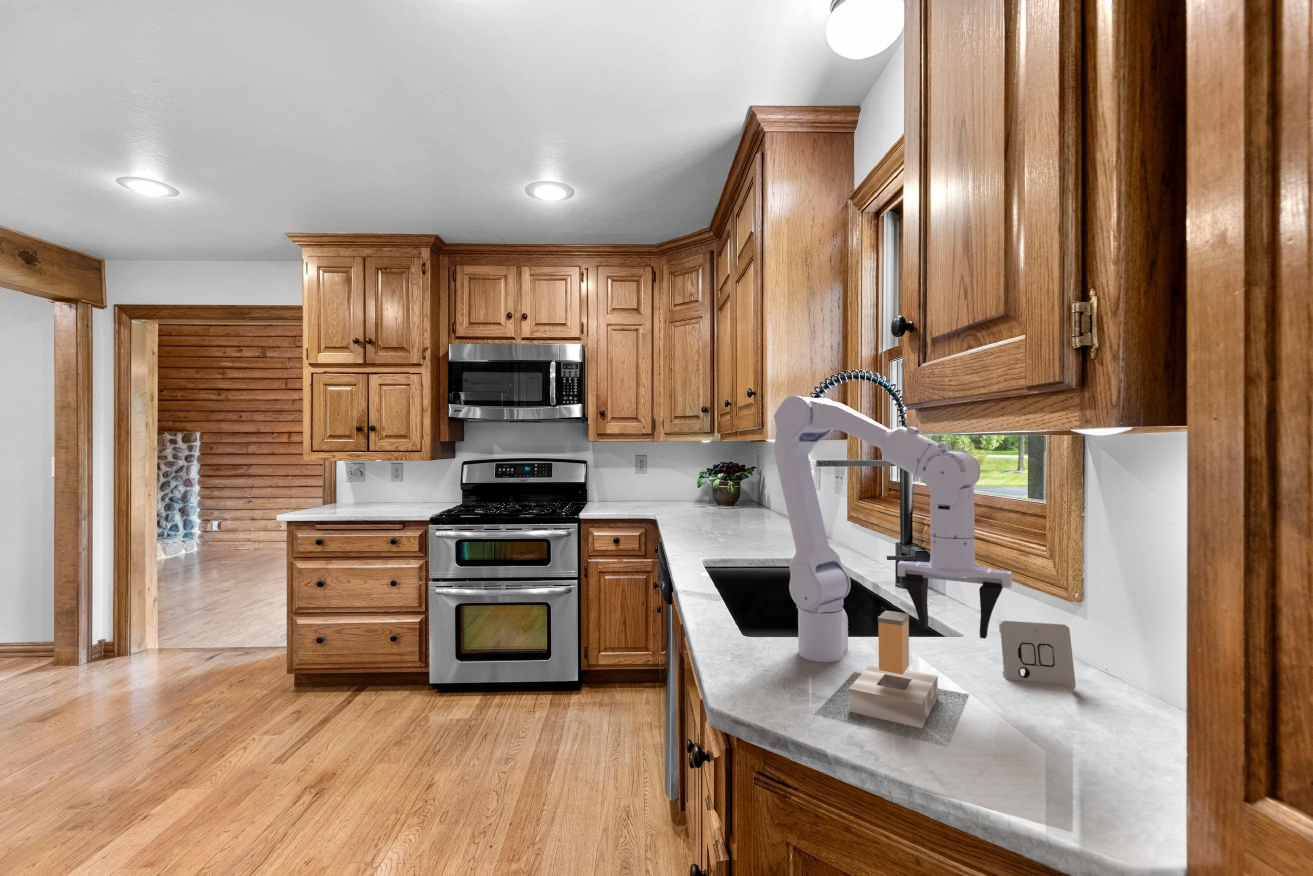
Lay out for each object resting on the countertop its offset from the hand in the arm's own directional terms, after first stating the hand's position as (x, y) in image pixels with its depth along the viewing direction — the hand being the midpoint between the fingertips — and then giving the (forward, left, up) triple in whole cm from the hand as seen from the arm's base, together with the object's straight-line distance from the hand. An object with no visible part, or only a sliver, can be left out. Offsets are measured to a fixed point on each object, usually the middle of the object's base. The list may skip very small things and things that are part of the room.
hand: (953, 632), depth 89 cm
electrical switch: (-13, +9, -10) cm, 19 cm away
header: (+9, -6, -9) cm, 14 cm away
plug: (+9, -6, -3) cm, 11 cm away
